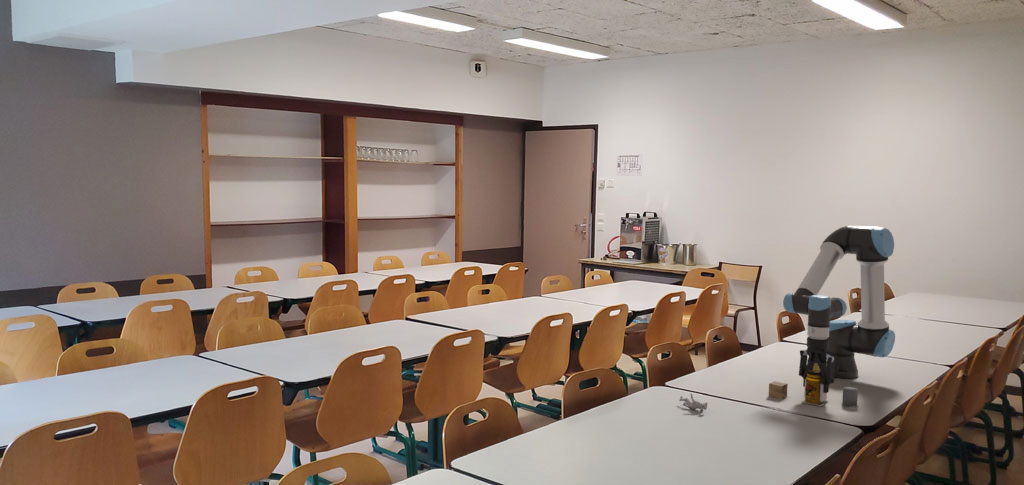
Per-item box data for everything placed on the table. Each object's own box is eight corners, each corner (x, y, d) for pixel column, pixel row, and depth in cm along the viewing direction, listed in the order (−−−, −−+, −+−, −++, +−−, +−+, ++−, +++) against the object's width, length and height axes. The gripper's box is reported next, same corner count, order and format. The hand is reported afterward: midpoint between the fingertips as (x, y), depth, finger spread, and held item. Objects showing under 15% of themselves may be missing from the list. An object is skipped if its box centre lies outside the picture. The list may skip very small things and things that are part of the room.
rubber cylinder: (847, 401, 273) (848, 386, 272) (860, 405, 268) (860, 389, 268) (839, 403, 270) (840, 387, 270) (851, 407, 266) (852, 391, 265)
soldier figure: (691, 405, 269) (716, 403, 260) (686, 416, 267) (711, 415, 257) (678, 392, 267) (702, 390, 258) (673, 403, 265) (698, 401, 255)
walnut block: (774, 393, 283) (774, 381, 282) (787, 396, 279) (787, 383, 279) (768, 396, 279) (769, 383, 279) (781, 399, 276) (781, 386, 275)
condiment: (800, 402, 271) (802, 371, 270) (808, 397, 277) (810, 366, 276) (821, 406, 266) (822, 374, 265) (828, 401, 273) (830, 370, 272)
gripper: (789, 333, 276) (787, 393, 278) (834, 343, 260) (831, 406, 261) (802, 331, 280) (800, 390, 282) (847, 341, 263) (844, 403, 265)
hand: (815, 398), depth 272 cm, fingers closed on condiment, 6 cm apart
